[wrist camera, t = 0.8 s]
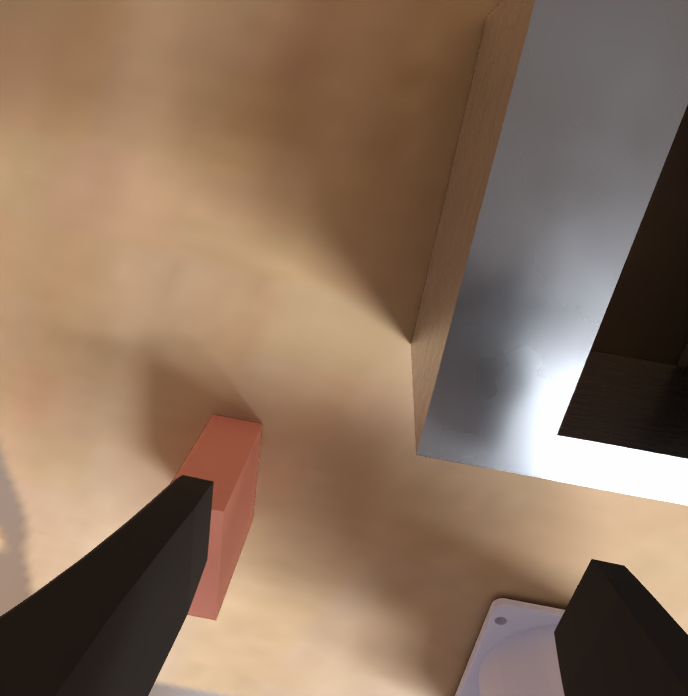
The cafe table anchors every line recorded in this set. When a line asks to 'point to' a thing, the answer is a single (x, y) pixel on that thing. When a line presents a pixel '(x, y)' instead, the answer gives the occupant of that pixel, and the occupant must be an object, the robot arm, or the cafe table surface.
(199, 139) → the cafe table surface
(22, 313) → the cafe table surface
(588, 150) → the box with rectangular hole
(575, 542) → the cafe table surface
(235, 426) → the tall pink block
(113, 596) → the robot arm
